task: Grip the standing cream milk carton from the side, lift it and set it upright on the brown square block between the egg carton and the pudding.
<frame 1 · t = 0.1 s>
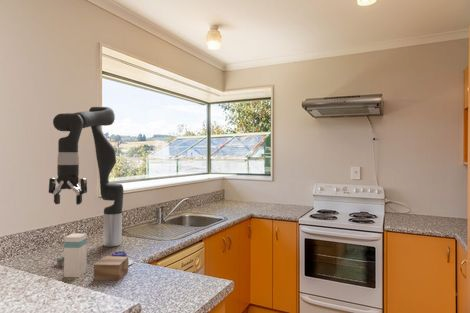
hand: (67, 204, 124), 29 cm above the worktop, tool pointing down, fingers open, 8 cm apart
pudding: (119, 264, 140), on the worktop
brown square block: (111, 275, 127), on the worktop
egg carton: (70, 263, 140), on the worktop
milk carton: (75, 274, 127), on the worktop
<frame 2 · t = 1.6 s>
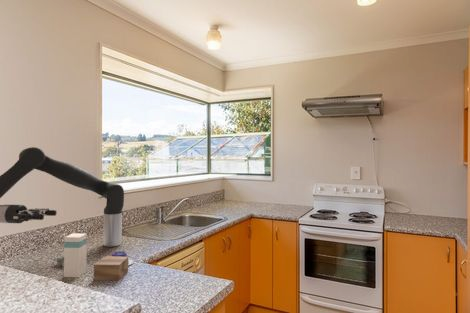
hand: (49, 214, 127), 24 cm above the worktop, tool horizontal, fingers open, 8 cm apart
nothing on the worktop moved.
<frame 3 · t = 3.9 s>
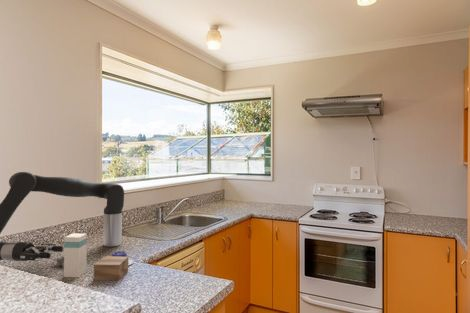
hand: (56, 252, 127), 9 cm above the worktop, tool horizontal, fingers open, 8 cm apart
nothing on the worktop moved.
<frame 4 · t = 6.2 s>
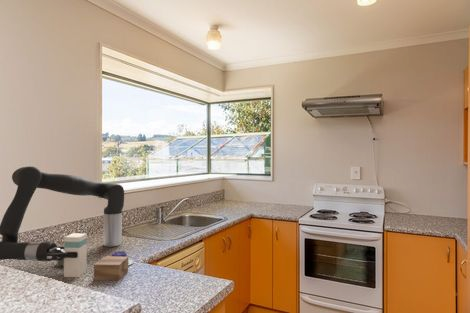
hand: (81, 252, 127), 9 cm above the worktop, tool horizontal, fingers closed on milk carton, 6 cm apart
milk carton: (75, 274, 127), on the worktop, touching gripper
everything else where it was.
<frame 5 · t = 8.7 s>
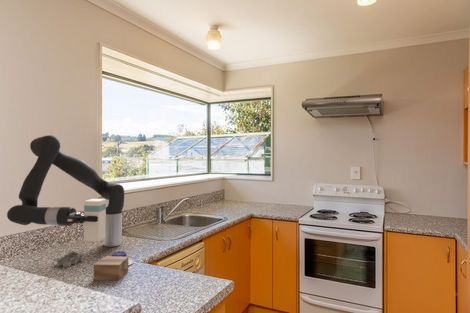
hand: (101, 217, 127), 24 cm above the worktop, tool horizontal, fingers closed on milk carton, 6 cm apart
milk carton: (94, 239, 127), point 15 cm above the worktop, touching gripper
when the fingers open (16 cm above the worktop, at t = 11.5 s): milk carton drops 1 cm, resting on brown square block.
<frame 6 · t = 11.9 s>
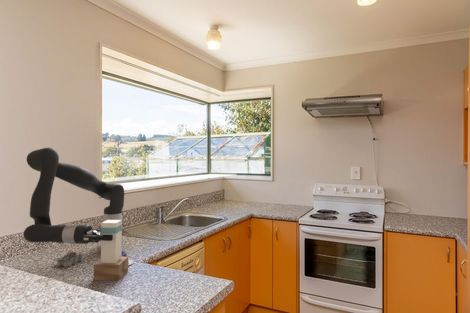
hand: (116, 234, 127), 16 cm above the worktop, tool horizontal, fingers open, 8 cm apart
milk carton: (111, 260, 127), point 6 cm above the worktop, touching brown square block
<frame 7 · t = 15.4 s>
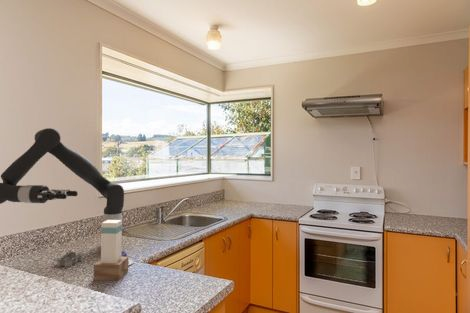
hand: (71, 194, 131), 32 cm above the worktop, tool horizontal, fingers open, 8 cm apart
at the end: milk carton inside the target area on the brown square block (0.2 cm from its centre), point 6.0 cm above the brown square block's base; milk carton tilted 0°; the gripper is holding nothing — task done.
